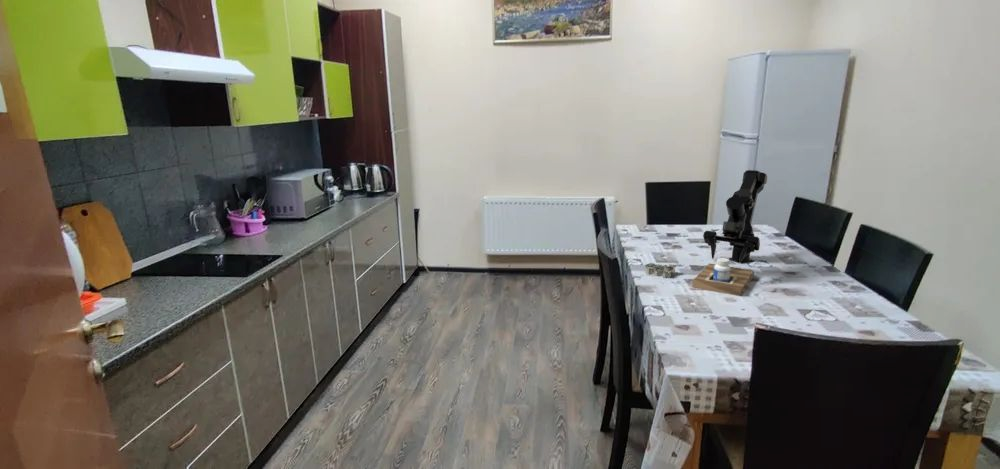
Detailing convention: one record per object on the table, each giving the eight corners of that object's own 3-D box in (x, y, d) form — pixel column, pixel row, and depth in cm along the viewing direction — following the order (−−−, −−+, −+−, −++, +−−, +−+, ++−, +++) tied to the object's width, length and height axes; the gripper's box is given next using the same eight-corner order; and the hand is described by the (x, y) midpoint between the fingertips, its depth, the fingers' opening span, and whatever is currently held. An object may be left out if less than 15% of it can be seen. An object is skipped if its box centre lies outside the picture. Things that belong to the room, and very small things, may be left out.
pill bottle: (712, 281, 183) (714, 256, 180) (728, 283, 181) (731, 257, 178) (712, 286, 178) (714, 261, 176) (728, 288, 176) (731, 262, 174)
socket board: (708, 269, 196) (709, 262, 195) (753, 276, 186) (754, 270, 186) (692, 287, 179) (692, 280, 178) (740, 296, 169) (741, 288, 169)
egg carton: (677, 275, 192) (678, 265, 191) (666, 280, 187) (667, 269, 186) (652, 268, 199) (653, 258, 198) (642, 273, 195) (642, 263, 194)
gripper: (706, 209, 186) (695, 245, 180) (761, 215, 175) (752, 253, 169) (710, 225, 194) (700, 259, 188) (763, 231, 183) (754, 268, 178)
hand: (725, 260), depth 181 cm, fingers open, 9 cm apart
